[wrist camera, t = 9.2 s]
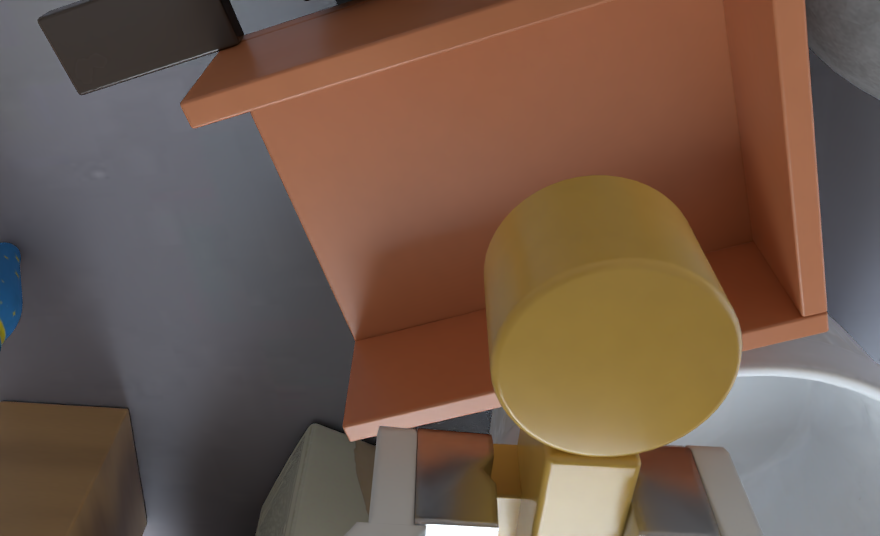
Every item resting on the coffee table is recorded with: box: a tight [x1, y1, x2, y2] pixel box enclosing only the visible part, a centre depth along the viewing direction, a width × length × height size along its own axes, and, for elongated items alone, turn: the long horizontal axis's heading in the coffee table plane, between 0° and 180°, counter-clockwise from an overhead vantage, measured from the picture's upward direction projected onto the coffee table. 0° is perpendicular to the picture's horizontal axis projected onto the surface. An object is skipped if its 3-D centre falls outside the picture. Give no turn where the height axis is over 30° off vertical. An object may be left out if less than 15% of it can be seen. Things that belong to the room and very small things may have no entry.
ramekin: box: [490, 315, 880, 536], centre depth 25 cm, size 13×13×7 cm
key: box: [484, 175, 743, 536], centre depth 10 cm, size 6×3×2 cm, turn 176°
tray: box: [38, 0, 829, 442], centre depth 16 cm, size 10×13×4 cm
